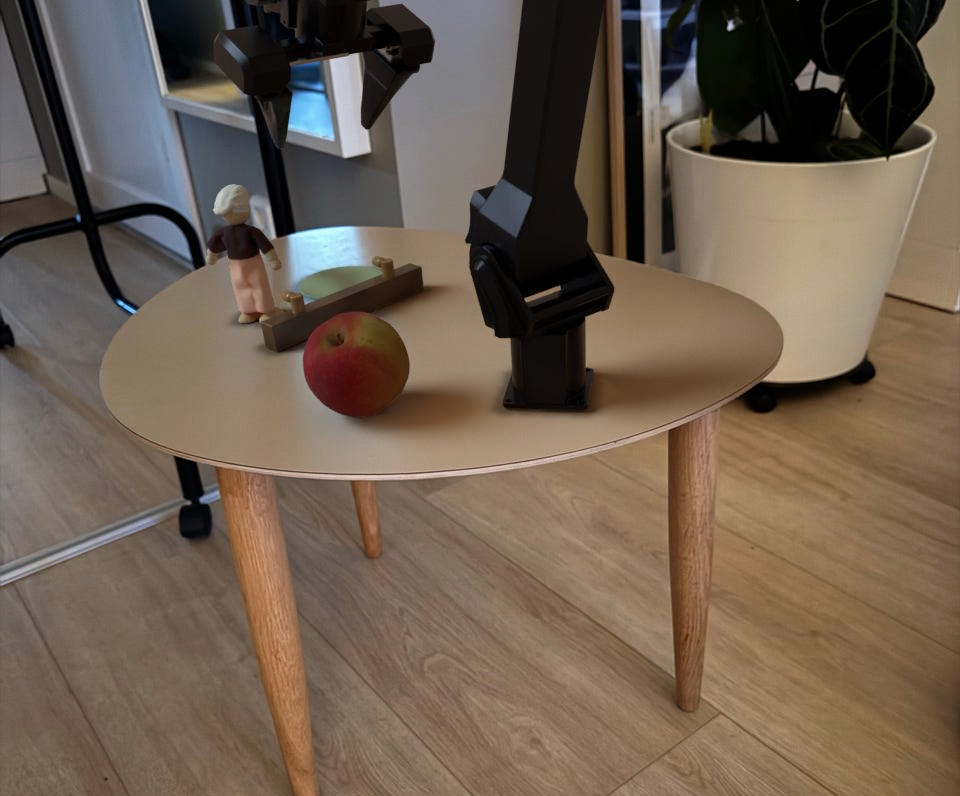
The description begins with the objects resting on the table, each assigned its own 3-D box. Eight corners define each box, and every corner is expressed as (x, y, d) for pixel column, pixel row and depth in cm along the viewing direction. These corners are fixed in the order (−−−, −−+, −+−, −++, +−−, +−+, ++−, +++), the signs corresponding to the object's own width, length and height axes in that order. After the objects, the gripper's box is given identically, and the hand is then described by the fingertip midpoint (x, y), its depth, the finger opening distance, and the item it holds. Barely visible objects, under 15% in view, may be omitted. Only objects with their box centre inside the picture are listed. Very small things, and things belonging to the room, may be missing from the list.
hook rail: (277, 352, 84) (268, 309, 82) (199, 319, 92) (189, 279, 89) (430, 287, 95) (426, 247, 93) (349, 263, 103) (343, 225, 100)
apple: (303, 402, 75) (285, 307, 71) (400, 381, 77) (389, 288, 73) (323, 445, 69) (305, 345, 65) (428, 421, 71) (417, 322, 67)
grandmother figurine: (300, 309, 92) (276, 177, 85) (289, 325, 89) (264, 189, 82) (224, 311, 93) (195, 181, 86) (211, 326, 90) (180, 192, 83)
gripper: (377, -93, 83) (361, 75, 95) (177, -75, 74) (187, 109, 86) (451, -34, 78) (424, 135, 90) (247, -8, 69) (247, 177, 81)
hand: (323, 136), depth 87 cm, fingers open, 9 cm apart
